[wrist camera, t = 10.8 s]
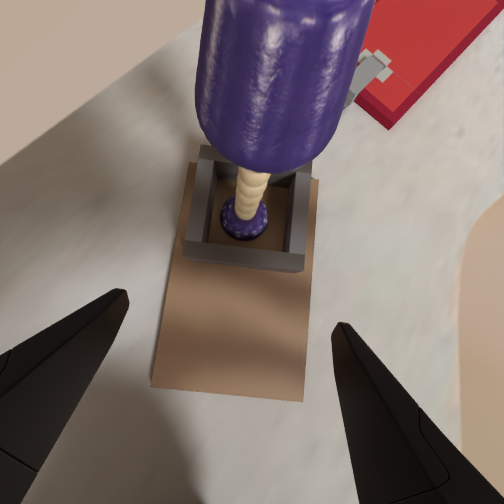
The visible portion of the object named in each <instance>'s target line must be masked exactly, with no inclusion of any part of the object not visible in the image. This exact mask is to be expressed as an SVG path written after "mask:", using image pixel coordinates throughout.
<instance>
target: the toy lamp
mask: <svg viewBox="0 0 504 504" xmlns="http://www.w3.org/2000/svg"><path fill="white" fill-rule="evenodd" d="M374 4H375V0H206V3H205V12H204V18H203V26H202V33H201V40H200V50H199V58H198V66H197V72H196V83H195V107H196V112H197V118H198V120H199V124H200V127H201V129H202V131H203V132H204V134H205V136H206V138H207V139H208V141H209V142H210V144H211V145H212V146H213V147H214V148H215V149H216V150H217V151H218V152H219V153H220V154H221V155H222V156H223V157H224V158H226V159H227V160H229V161H231V162H232V163H234V164H236V165H237V166H238V171H239V173H238V176H237V187H236V194H235V195H233V196H232V197H230V198H229V199H228V200H227V201H226V202H225V203H224V205H223V207H222V209H221V213H220V220H221V224H222V227H223V229H224V230H225V232H226V233H227V234H228V235H229V236H230V237H232V238H234V239H236V240H240V241H249V240H253V239H255V238H257V237H259V236H260V235H261V234H262V233H263V232H264V231H265V229H266V227H267V224H268V211H267V208H266V206H265V204H264V203H263V202H262V200H261V199H262V196H263V192H264V191H265V189H266V186H267V181H268V179H269V177H270V175H271V174H280V173H284V172H290V171H292V170H295V169H298V168H300V167H302V166H304V165H306V164H308V163H310V162H311V161H312V160H313V159H314V158H316V157H317V156H318V155H319V154H320V153H321V152H322V151H323V150H324V149H325V147H326V146H327V144H328V143H329V141H330V140H331V138H332V136H333V135H334V133H335V131H336V129H337V126H338V123H339V120H340V117H341V114H342V111H343V108H344V104H345V101H346V98H347V94H348V91H349V88H350V85H351V82H352V79H353V76H354V73H355V70H356V66H357V63H358V59H359V56H360V52H361V49H362V45H363V42H364V38H365V35H366V31H367V28H368V25H369V21H370V18H371V14H372V11H373V7H374Z"/></svg>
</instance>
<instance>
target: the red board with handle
mask: <svg viewBox="0 0 504 504" xmlns="http://www.w3.org/2000/svg"><path fill="white" fill-rule="evenodd" d="M503 9H504V0H375V4H374V7H373V11H372V14H371V18H370V21H369V25H368V28H367V31H366V35H365V38H364V42H363V45H362V49H361V52H360V56H359V59H358V63H357V66H356V70H355V73H354V76H353V79H352V82H351V85H350V88H349V91H348V94H347V98H346V101H345V104H344V108H343V110H344V109H345V108H346V107H347V106H349V105H350V104H351V103H352V102H353V101H355V102H356V103H357V104H358V105H359V106H360V107H361V108H363V109H364V110H365V111H366V112H367V113H368V114H369V115H371V116H372V117H373V118H374V119H375V120H377V121H378V122H379V123H380V124H381V125H383V126H384V127H385V128H386V129H387V130H390V129H391V128H392V127H393V126H394V125H395V123H396V122H397V121H398V120H399V119H400V118H401V117H402V116H403V115H404V114H405V113H406V112H407V111H408V110H409V109H410V108H411V106H412V105H413V104H414V103H415V102H416V101H417V100H418V99H419V98H420V97H421V96H422V95H423V94H424V93H425V92H426V91H427V89H428V88H429V87H430V86H431V85H432V84H433V83H434V82H435V81H436V80H437V79H438V78H439V77H440V76H441V75H442V73H443V72H444V71H445V70H446V69H447V68H448V67H449V66H450V65H451V64H452V63H453V62H454V61H455V60H456V59H457V58H458V56H459V55H460V54H461V53H462V52H463V51H464V50H465V49H466V48H467V47H468V46H469V45H470V44H471V43H472V42H473V41H474V39H475V38H476V37H477V36H478V35H479V34H480V33H481V32H482V31H483V30H484V29H485V28H486V27H487V26H488V25H489V24H490V22H491V21H492V20H493V19H494V18H495V17H496V16H497V15H498V14H499V13H500V12H501V11H502V10H503Z"/></svg>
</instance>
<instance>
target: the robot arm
mask: <svg viewBox="0 0 504 504" xmlns="http://www.w3.org/2000/svg"><path fill="white" fill-rule="evenodd" d="M128 308H129V299H128V295H127V291H126V290H125V289H119V288H115V289H113V290H111V291H109V292H107V293H106V294H104V295H102V296H101V297H99V298H97V299H95V300H94V301H92V302H90V303H89V304H87V305H85V306H83V307H82V308H80V309H78V310H77V311H75V312H73V313H72V314H70V315H68V316H66V317H65V318H63V319H61V320H60V321H58V322H56V323H54V324H53V325H51V326H49V327H48V328H46V329H44V330H43V331H41V332H39V333H37V334H36V335H34V336H32V337H31V338H29V339H27V340H25V341H24V342H22V343H20V344H19V345H17V346H15V347H14V348H13V349H12V350H8V351H7V352H5V353H3V354H1V355H0V504H20V503H21V502H22V500H23V498H24V497H25V495H26V493H27V491H28V490H29V488H30V486H31V484H32V483H33V481H34V479H35V477H36V476H37V474H38V473H37V472H39V470H40V468H41V467H42V465H43V463H44V462H45V460H46V458H47V456H48V455H49V453H50V451H51V449H52V448H53V446H54V444H55V443H56V441H57V439H58V437H59V436H60V434H61V432H62V430H63V429H64V427H65V425H66V423H67V422H68V420H69V418H70V417H71V415H72V413H73V411H74V410H75V408H76V406H77V404H78V403H79V401H80V399H81V398H82V396H83V394H84V392H85V391H86V389H87V387H88V385H89V384H90V382H91V380H92V378H93V377H94V375H95V373H96V372H97V370H98V368H99V366H100V365H101V363H102V361H103V359H104V358H105V356H106V354H107V353H108V351H109V349H110V347H111V345H112V344H113V342H114V340H115V338H116V335H117V333H118V331H119V329H120V326H121V324H122V322H123V320H124V317H125V315H126V313H127V311H128ZM331 343H332V354H333V366H334V375H335V381H336V386H337V391H338V396H339V402H340V407H341V412H342V417H343V422H344V427H345V432H346V438H347V443H348V448H349V453H350V458H351V463H352V469H353V474H354V479H355V484H356V489H357V494H358V500H359V504H504V498H503V496H501V494H500V493H499V492H498V491H497V490H496V489H495V488H494V487H493V486H492V485H491V484H490V483H489V482H488V481H487V480H486V479H485V477H484V476H483V475H482V474H481V473H480V472H479V471H478V470H477V469H476V468H475V467H474V466H473V465H472V464H471V463H470V462H469V461H468V460H467V459H466V458H465V457H464V456H463V454H462V453H461V452H460V451H459V450H458V449H457V448H456V447H455V446H454V445H453V444H452V443H451V442H450V440H449V439H448V438H447V437H446V436H445V435H444V434H443V433H442V432H441V431H440V429H439V428H438V427H437V426H436V425H435V424H434V423H433V421H432V420H431V419H430V418H429V417H428V416H427V414H426V413H425V412H424V411H423V410H422V409H421V408H420V407H419V405H418V404H417V403H416V402H415V400H414V399H413V398H412V397H411V396H410V395H409V393H408V392H407V391H406V390H405V389H404V388H403V386H402V385H401V384H400V383H399V382H398V380H397V379H396V378H395V377H394V376H393V375H392V373H391V372H390V371H389V370H388V369H387V367H386V366H385V365H384V364H383V363H382V362H381V360H380V359H379V358H378V357H377V356H376V355H375V353H374V352H373V351H372V350H371V349H370V347H369V346H368V345H367V344H366V343H365V342H364V340H363V339H362V338H361V337H360V336H359V335H358V333H357V332H356V331H355V330H354V329H353V327H352V326H351V325H350V324H349V323H344V322H338V323H337V325H336V327H335V329H334V330H333V332H332V335H331Z"/></svg>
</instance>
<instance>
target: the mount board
mask: <svg viewBox="0 0 504 504" xmlns="http://www.w3.org/2000/svg"><path fill="white" fill-rule="evenodd" d="M311 172H312V161H311V162H310V163H308V164H306V165H304V166H302V167H300V168H298V169H295V170H292V171H290V172H284V173H280V174H271V175H270V177H269V179H268V181H267V186H266V189H265V191H264V192H263V196H262V199H261V200H262V202H263V203H264V204H265V206H266V208H267V211H268V224H267V227H266V229H265V231H264V232H263V233H262V234H261V235H260V236H259V237H257V238H255V239H253V240H249V241H240V240H236V239H234V238H232V237H230V236H229V235H228V234H227V233H226V232H225V230H224V229H223V227H222V224H221V220H220V213H221V209H222V207H223V205H224V203H225V202H226V201H227V200H228V199H229V198H230V197H232V196H233V195H235V194H236V187H237V176H238V173H239V171H238V166H237V165H236V164H234V163H232V162H231V161H229V160H227V159H226V158H224V157H223V156H222V155H221V154H220V153H219V152H218V151H217V150H216V149H215V148H214V147H213V146H207V145H201V147H200V153H199V159H198V163H191V162H189V168H188V174H187V179H186V185H185V191H184V197H183V202H182V208H181V214H180V220H179V225H178V231H177V237H176V243H175V248H174V254H173V260H172V266H171V271H170V277H169V283H168V289H167V294H166V300H165V306H164V312H163V317H162V323H161V329H160V335H159V340H158V346H157V352H156V358H155V363H154V369H153V375H152V381H151V386H150V387H157V388H167V389H177V390H187V391H197V392H207V393H217V394H227V395H237V396H247V397H257V398H267V399H277V400H287V401H297V402H303V395H304V381H305V367H306V353H307V339H308V324H309V310H310V296H311V282H312V268H313V254H314V239H315V225H316V211H317V197H318V183H319V180H317V179H311Z"/></svg>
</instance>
